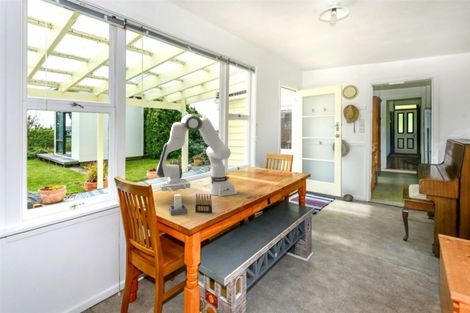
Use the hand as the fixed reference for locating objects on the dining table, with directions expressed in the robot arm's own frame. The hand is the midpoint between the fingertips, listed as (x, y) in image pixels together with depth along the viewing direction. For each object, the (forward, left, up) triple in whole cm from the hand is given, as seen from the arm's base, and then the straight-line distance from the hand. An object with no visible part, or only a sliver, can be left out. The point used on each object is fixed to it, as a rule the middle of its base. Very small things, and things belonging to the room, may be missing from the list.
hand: (177, 188), depth 171 cm
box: (+2, +14, -11) cm, 18 cm away
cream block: (+2, +14, -11) cm, 18 cm away
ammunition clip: (-13, +21, -12) cm, 27 cm away
